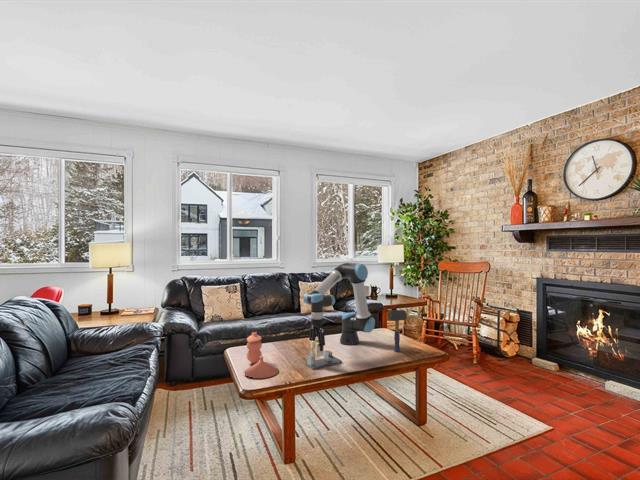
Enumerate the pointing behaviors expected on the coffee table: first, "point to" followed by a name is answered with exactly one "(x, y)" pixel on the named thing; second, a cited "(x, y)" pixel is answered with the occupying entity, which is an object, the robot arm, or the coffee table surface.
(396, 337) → the rubber mallet
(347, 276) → the robot arm
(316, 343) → the block
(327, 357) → the jaw slide
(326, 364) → the vise
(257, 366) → the ceramic vessels
